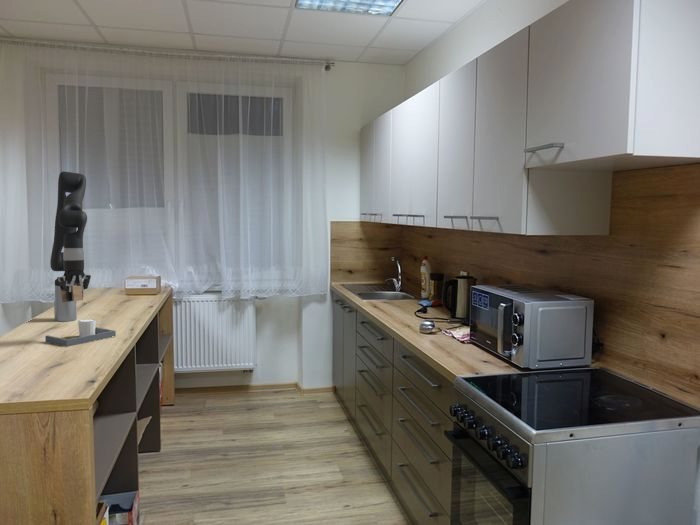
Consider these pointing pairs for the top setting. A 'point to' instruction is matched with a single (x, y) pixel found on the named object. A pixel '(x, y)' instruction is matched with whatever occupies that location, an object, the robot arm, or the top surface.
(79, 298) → the block
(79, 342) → the grey u-shaped bracket
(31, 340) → the top surface
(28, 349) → the top surface
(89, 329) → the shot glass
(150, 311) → the top surface
